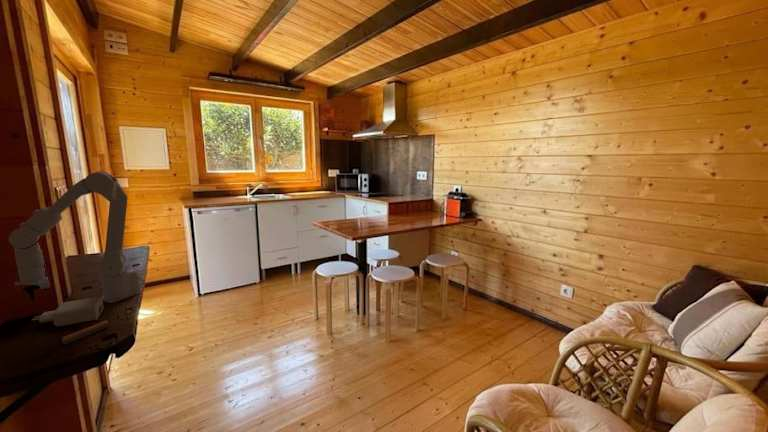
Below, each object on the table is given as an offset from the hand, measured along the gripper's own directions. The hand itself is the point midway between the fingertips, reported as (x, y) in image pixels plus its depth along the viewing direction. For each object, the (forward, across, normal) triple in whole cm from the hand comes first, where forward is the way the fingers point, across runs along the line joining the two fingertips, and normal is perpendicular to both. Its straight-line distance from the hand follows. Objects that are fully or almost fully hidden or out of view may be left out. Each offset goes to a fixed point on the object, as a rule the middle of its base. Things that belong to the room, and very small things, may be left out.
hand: (39, 305), depth 102 cm
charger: (+2, +15, +1) cm, 15 cm away
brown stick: (+2, +30, -1) cm, 30 cm away
